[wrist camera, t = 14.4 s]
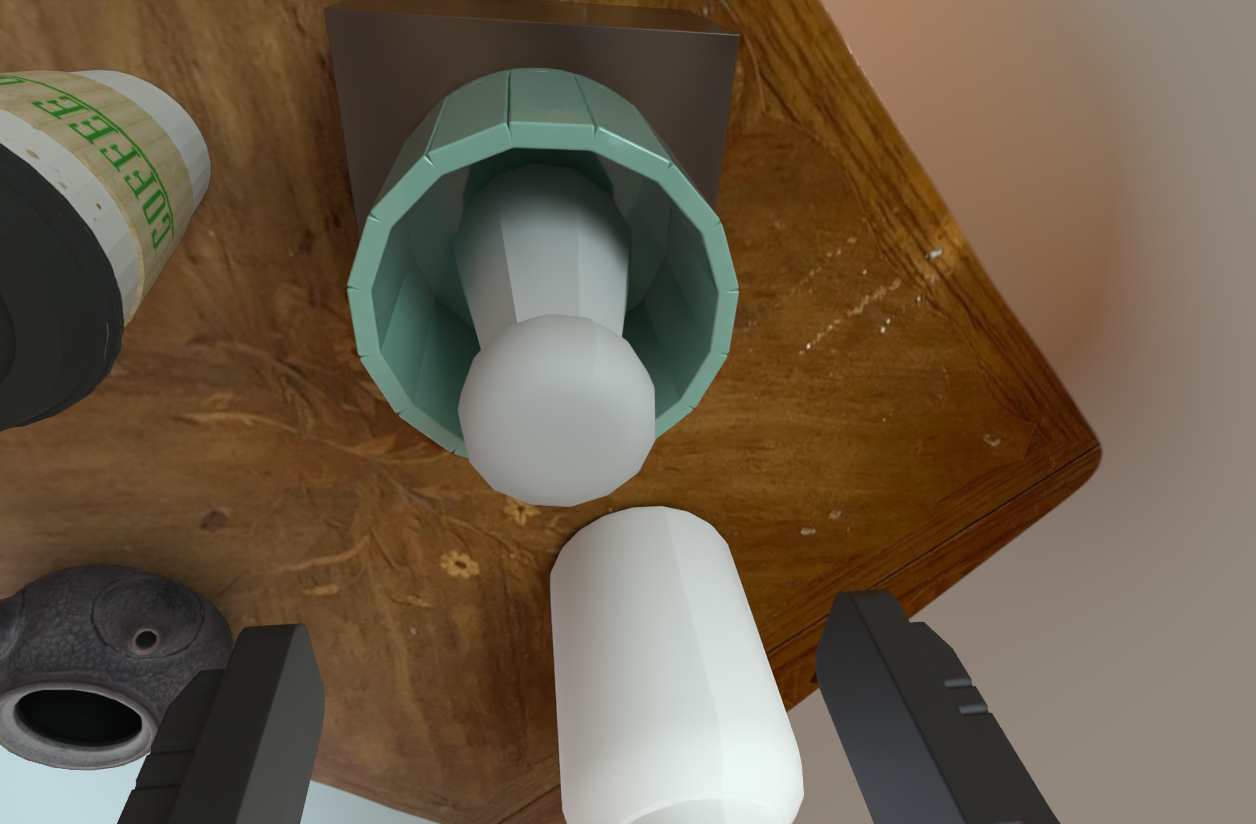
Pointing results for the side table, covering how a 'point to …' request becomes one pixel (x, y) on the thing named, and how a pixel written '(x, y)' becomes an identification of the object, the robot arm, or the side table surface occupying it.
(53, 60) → the side table surface
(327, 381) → the side table surface
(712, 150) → the block
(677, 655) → the can
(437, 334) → the green cup
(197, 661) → the teapot
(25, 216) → the coffee cup
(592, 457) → the salt shaker
